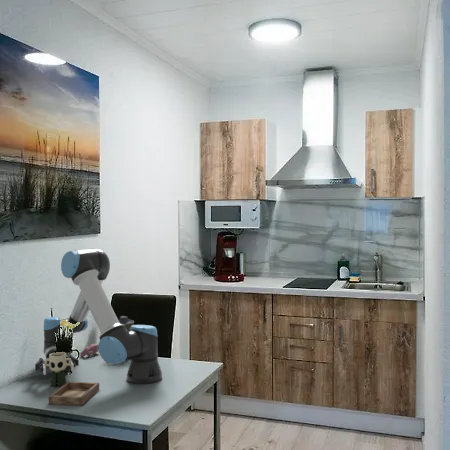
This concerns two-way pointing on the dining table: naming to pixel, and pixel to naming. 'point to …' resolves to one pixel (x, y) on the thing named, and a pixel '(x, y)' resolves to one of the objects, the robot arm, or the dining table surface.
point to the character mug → (58, 367)
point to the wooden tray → (74, 393)
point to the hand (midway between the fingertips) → (58, 369)
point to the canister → (126, 322)
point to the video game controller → (90, 348)
